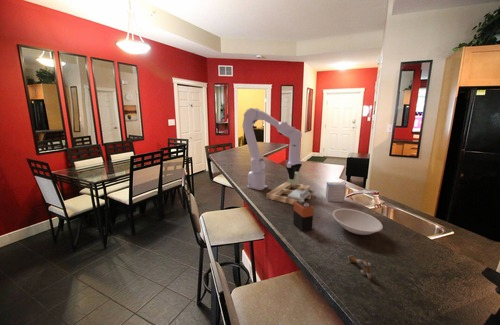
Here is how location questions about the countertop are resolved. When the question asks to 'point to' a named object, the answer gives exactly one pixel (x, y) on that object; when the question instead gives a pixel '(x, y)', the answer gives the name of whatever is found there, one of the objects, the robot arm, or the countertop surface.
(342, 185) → the medicine box
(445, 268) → the countertop surface
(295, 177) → the block
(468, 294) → the countertop surface
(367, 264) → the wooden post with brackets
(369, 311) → the countertop surface
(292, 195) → the lid
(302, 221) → the battery
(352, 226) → the dish
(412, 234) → the countertop surface
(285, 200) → the puzzle board
